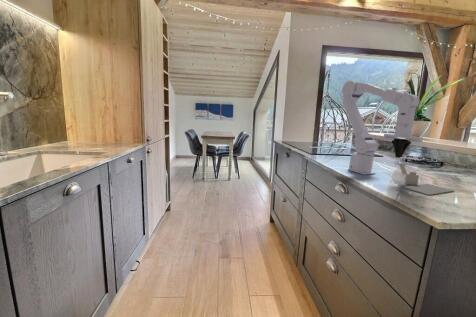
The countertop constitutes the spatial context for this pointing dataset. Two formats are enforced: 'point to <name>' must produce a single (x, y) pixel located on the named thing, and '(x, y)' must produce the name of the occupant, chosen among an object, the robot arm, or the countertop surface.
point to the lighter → (409, 176)
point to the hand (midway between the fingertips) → (398, 157)
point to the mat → (428, 189)
